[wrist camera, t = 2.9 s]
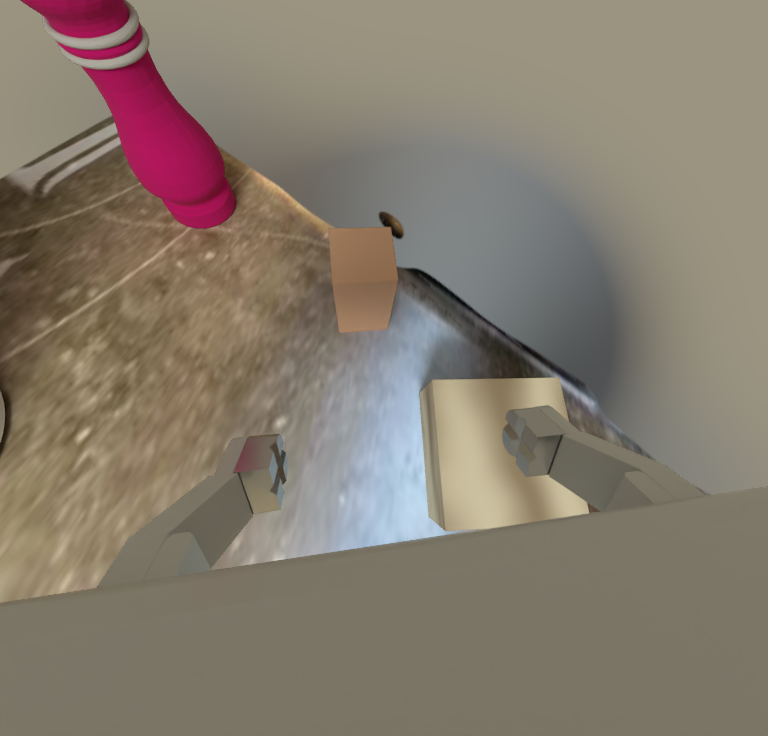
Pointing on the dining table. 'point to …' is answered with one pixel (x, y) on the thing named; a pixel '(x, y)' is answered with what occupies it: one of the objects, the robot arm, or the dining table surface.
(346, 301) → the terracotta block
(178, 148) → the pepper mill
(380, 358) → the dining table surface
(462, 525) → the birch block
